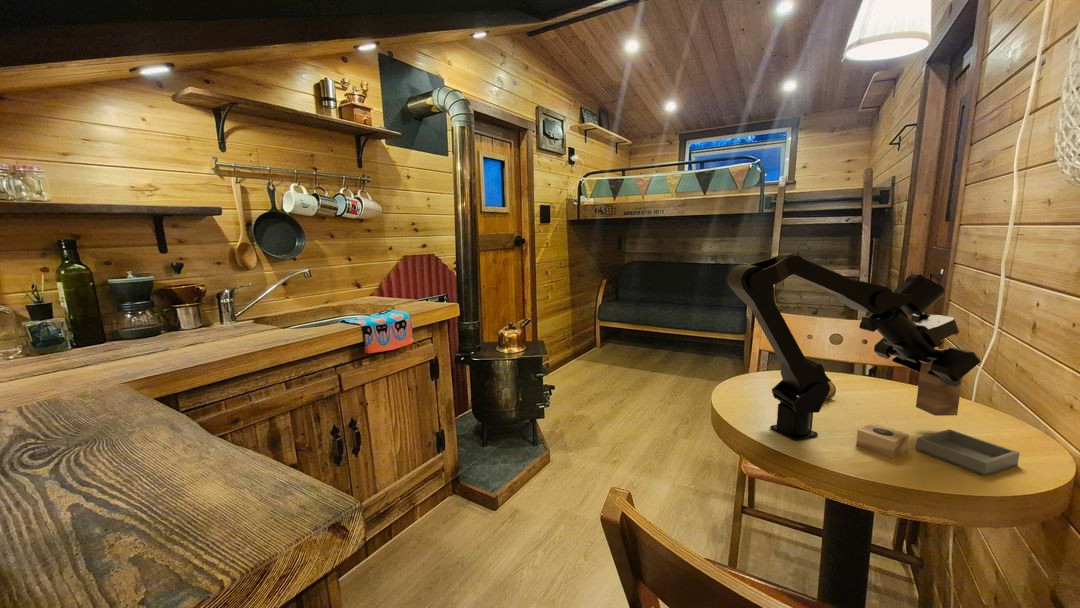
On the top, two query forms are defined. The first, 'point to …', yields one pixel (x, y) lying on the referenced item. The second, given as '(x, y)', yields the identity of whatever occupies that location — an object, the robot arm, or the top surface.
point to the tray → (968, 452)
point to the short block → (882, 440)
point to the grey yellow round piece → (831, 391)
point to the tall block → (936, 394)
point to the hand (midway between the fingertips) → (946, 381)
